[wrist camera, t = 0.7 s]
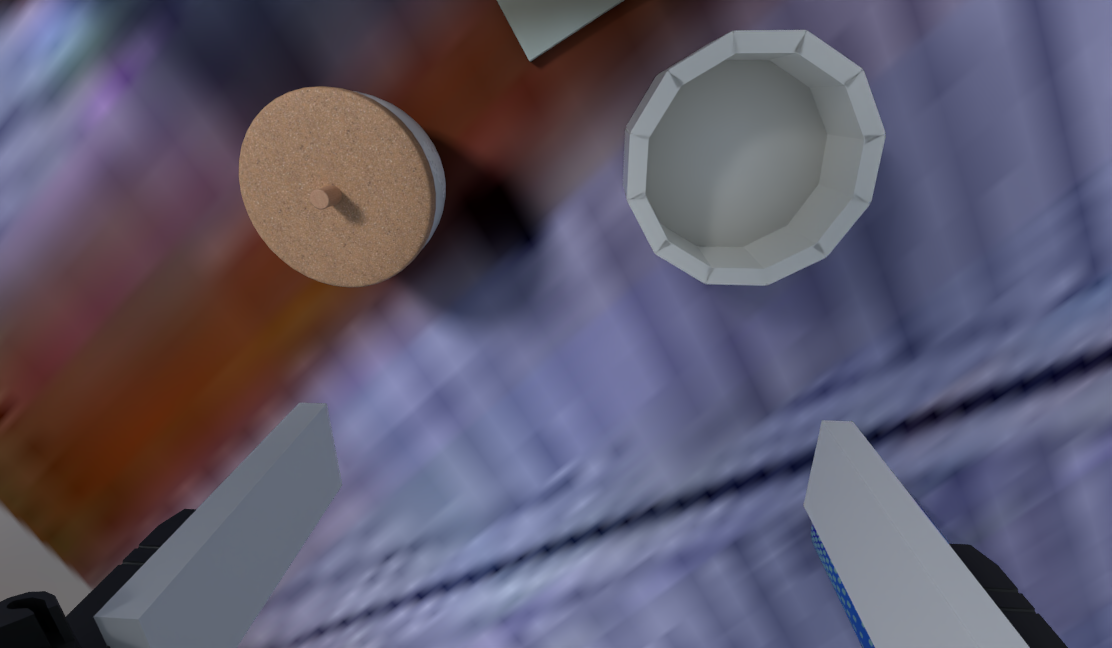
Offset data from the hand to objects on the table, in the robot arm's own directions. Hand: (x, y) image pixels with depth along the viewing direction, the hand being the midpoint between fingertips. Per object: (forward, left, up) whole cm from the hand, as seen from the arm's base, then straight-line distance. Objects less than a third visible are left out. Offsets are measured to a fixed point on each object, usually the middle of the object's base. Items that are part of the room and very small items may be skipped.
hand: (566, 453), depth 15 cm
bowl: (0, +10, -24) cm, 26 cm away
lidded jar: (-10, -10, -25) cm, 28 cm away
